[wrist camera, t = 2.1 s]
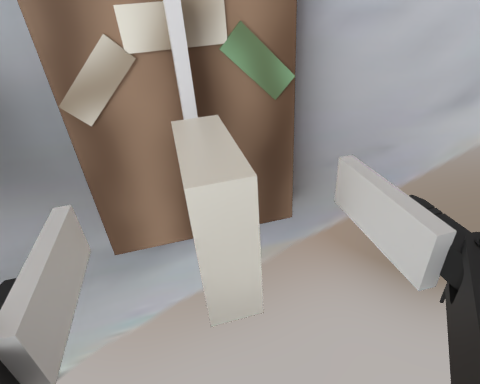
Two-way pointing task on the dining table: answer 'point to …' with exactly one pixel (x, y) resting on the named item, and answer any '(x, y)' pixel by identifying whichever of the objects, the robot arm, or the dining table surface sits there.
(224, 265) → the white piece
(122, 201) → the board
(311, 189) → the dining table surface
